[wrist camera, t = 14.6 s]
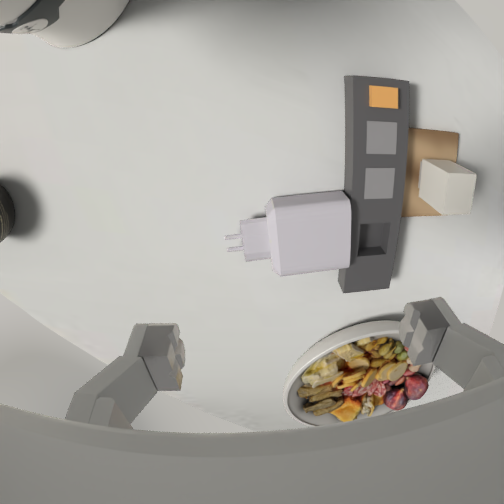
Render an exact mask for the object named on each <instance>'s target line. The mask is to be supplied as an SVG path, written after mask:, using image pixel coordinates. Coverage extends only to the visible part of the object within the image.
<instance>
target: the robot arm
mask: <svg viewBox="0 0 504 504" xmlns="http://www.w3.org/2000/svg"><path fill="white" fill-rule="evenodd" d="M128 2H129V0H0V33H12V34H32V35H35V36H37V37H39V38H41V39H42V40H43V41H45V42H46V43H48V44H49V45H51V46H54V47H58V48H71V47H76V46H80V45H83V44H85V43H87V42H89V41H91V40H93V39H95V38H96V37H98V36H99V35H101V34H102V33H103V32H104V31H106V30H107V29H108V28H109V27H110V26H111V25H112V24H113V23H114V22H115V21H116V20H117V18H118V17H119V16H120V14H121V13H122V11H123V10H124V8H125V7H126V5H127V3H128ZM403 312H404V314H405V315H406V316H405V317H404V318H403V319H402V320H401V322H400V326H399V336H400V340H401V342H402V344H403V345H404V346H405V347H407V348H409V349H408V352H407V354H408V356H409V358H410V360H411V362H412V365H413V366H417V365H422V364H427V363H432V362H433V363H432V364H434V365H435V366H436V367H437V368H439V369H440V370H441V371H442V372H444V373H445V374H446V375H447V376H449V377H450V378H451V379H452V380H453V381H455V382H456V383H457V384H458V385H460V386H461V387H462V388H463V389H464V391H463V392H461V393H458V394H455V395H452V396H449V397H446V398H443V399H440V400H436V401H433V402H430V403H426V404H423V405H419V406H415V407H412V408H408V409H404V410H400V411H396V412H391V413H387V414H383V415H378V416H373V417H369V418H363V419H358V420H353V421H347V422H341V423H335V424H328V425H321V426H314V427H306V428H297V429H287V430H275V431H262V432H242V433H176V432H158V431H144V430H134V429H133V428H132V426H131V425H130V424H131V423H132V421H133V420H134V419H135V418H136V417H137V416H138V414H139V413H140V412H141V411H142V410H143V408H144V407H145V406H146V405H147V404H148V403H149V401H150V400H151V399H152V398H153V397H154V395H155V394H156V393H157V391H180V390H181V383H182V377H183V375H182V372H181V369H182V368H183V367H184V364H185V348H184V344H183V341H182V340H181V339H180V338H179V335H180V330H179V327H178V324H176V323H149V324H136V325H134V327H133V330H132V332H131V335H130V338H129V341H128V344H127V346H126V349H125V352H124V355H123V356H119V357H118V358H117V359H115V360H114V361H113V362H112V363H110V364H109V365H108V366H107V367H105V368H104V369H103V370H102V371H101V372H99V373H98V374H97V375H96V376H94V377H93V378H92V379H91V380H90V381H88V382H87V383H86V384H85V385H84V386H82V387H81V388H80V389H79V390H77V391H76V392H75V393H74V396H73V398H72V401H71V403H70V406H69V409H68V412H67V414H66V417H65V419H60V418H55V417H50V416H46V415H41V414H37V413H33V412H29V411H25V410H21V409H18V408H14V407H10V406H7V405H4V404H1V403H0V504H504V344H502V343H500V342H498V341H497V340H495V339H493V338H491V337H489V336H488V335H486V334H484V333H482V332H480V331H478V330H477V329H475V328H473V327H471V326H469V325H467V324H465V323H462V324H461V322H460V321H459V319H458V318H457V316H456V315H455V314H454V312H453V311H452V310H451V308H450V307H449V305H448V304H447V303H446V301H445V300H444V299H443V298H441V297H438V298H433V299H429V300H422V301H416V302H410V303H407V304H406V305H405V307H404V311H403Z"/></svg>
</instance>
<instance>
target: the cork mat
mask: <svg viewBox="0 0 504 504" xmlns="http://www.w3.org/2000/svg"><path fill="white" fill-rule="evenodd" d="M458 137H459V134H458V133H455V132H447V131H438V130H429V129H418V128H409V130H408V149H407V164H406V176H405V187H404V196H403V205H402V213H401V217H412V216H439V215H441V214H440V213H439V212H438V211H436V210H435V209H434V208H433V207H432V206H430V205H429V204H428V203H426V202H425V201H424V200H423V199H421V198H420V197H419V189H420V188H418V183H419V173H420V161H422V159H437V160H450V161H452V162H454V163H456V159H457V149H458Z"/></svg>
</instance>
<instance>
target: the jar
mask: <svg viewBox="0 0 504 504" xmlns="http://www.w3.org/2000/svg"><path fill="white" fill-rule="evenodd" d="M14 217H15V213H14V206H13V203H12V200H11V198H10V196H9V194H8V192H7V191H6V190H5V189H4V188H3V187H2V186H1V185H0V242H1V241H3V240H4V239H5V238H6V237H7V235H8V234H9V232H10V231H11V229H12V227H13V224H14Z"/></svg>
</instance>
